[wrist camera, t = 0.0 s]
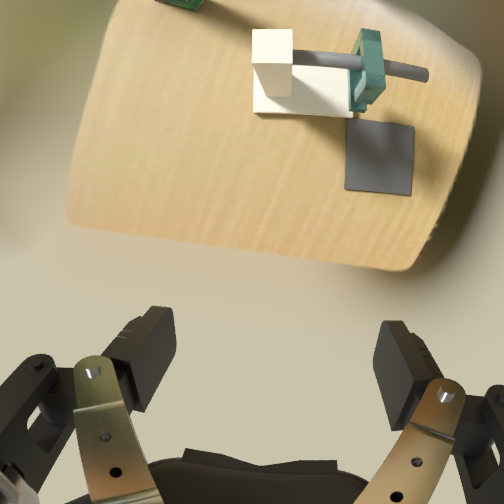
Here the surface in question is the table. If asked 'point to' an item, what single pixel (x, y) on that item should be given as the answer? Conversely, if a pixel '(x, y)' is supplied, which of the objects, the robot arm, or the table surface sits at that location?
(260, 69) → the stand
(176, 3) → the coffee box
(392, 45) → the table surface
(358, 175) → the pad
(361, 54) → the c link
